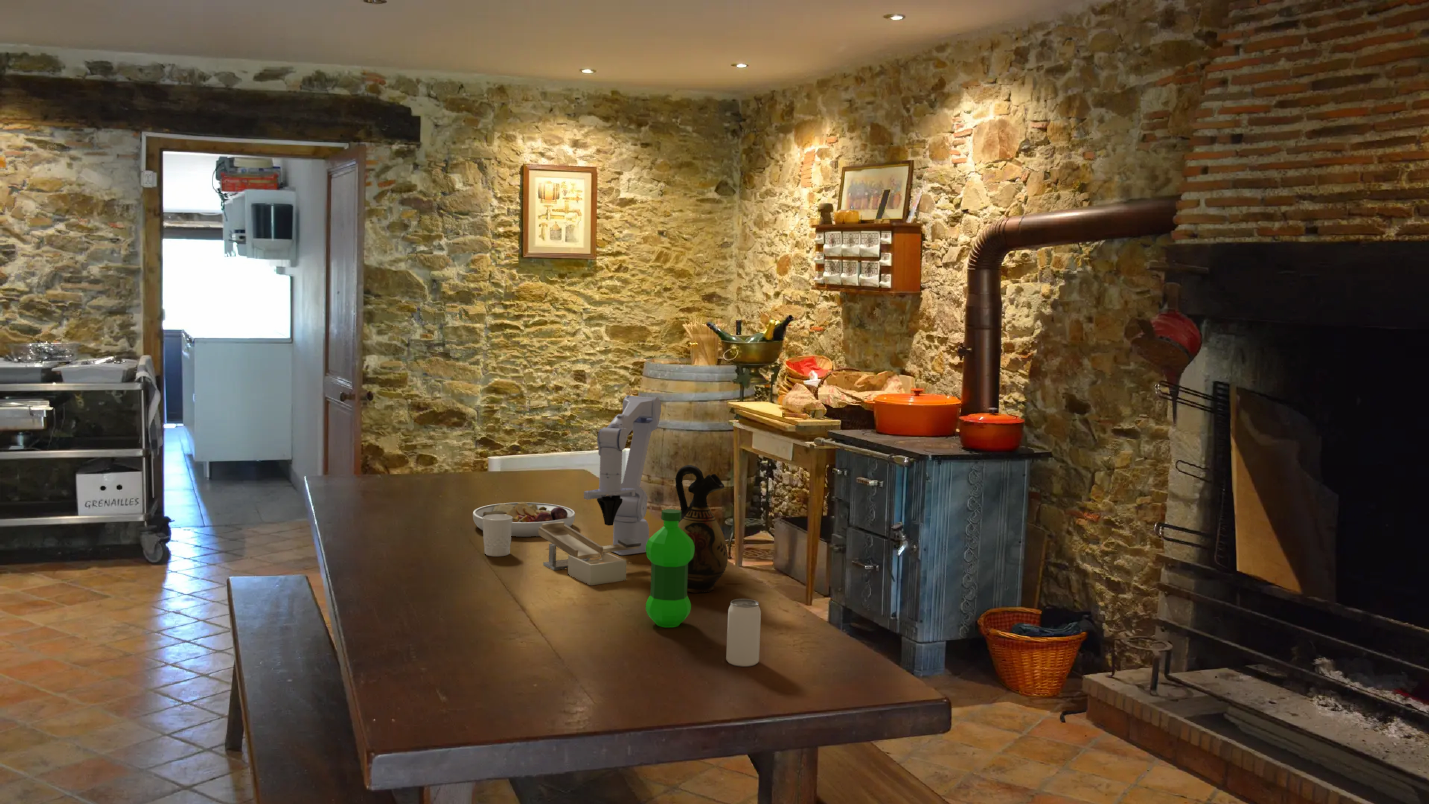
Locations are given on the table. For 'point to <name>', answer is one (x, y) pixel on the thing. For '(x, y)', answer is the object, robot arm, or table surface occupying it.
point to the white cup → (497, 534)
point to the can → (743, 633)
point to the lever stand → (559, 563)
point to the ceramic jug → (702, 531)
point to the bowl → (526, 516)
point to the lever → (580, 541)
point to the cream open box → (598, 569)
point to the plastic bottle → (669, 571)
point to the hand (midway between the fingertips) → (608, 524)
